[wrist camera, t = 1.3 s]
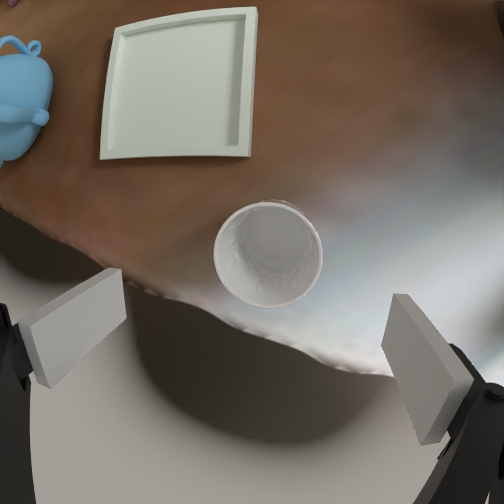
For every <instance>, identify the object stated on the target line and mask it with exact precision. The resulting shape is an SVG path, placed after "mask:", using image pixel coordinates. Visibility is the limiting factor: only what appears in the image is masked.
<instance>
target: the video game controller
mask: <svg viewBox="0 0 504 504" xmlns="http://www.w3.org/2000/svg"><path fill="white" fill-rule="evenodd" d="M18 1H19V0H8V5H9V6H10V7H13V6H15V5H16V4H17V2H18Z"/></svg>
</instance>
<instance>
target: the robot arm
mask: <svg viewBox="0 0 504 504" xmlns="http://www.w3.org/2000/svg"><path fill="white" fill-rule="evenodd" d="M498 17H499V22H500V26H501V29H502V32H503V34H504V2H502V3H501V4H500V6H499V9H498ZM125 319H126V310H125V302H124V294H123V283H122V272H121V269H117V268H107V269H106V270H104V271H102V272H100V273H99V274H97V275H95V276H93V277H92V278H90V279H88V280H86V281H84V282H83V283H81V284H79V285H77V286H76V287H74V288H72V289H70V290H69V291H67V292H65V293H64V294H62V295H60V296H59V297H57V298H56V299H54V300H52V301H50V302H49V303H47V304H45V305H44V306H42V307H41V308H39V309H37V310H35V311H34V312H32V313H31V314H29V315H28V316H26V317H24V318H22V319H21V320H19V321H18V323H17V324H15V325H14V326H12V324H11V321H10V317H9V313H8V309H7V306H6V305H5V304H2V303H0V504H36V499H35V493H34V485H33V476H32V466H31V453H30V390H31V381H30V378H29V374H30V373H31V372H32V371H34V374H35V377H36V379H37V382H38V383H39V384H41V385H43V386H45V387H47V388H49V389H51V388H52V387H53V386H54V385H55V384H56V383H57V382H58V381H59V380H60V379H61V378H62V377H64V376H65V375H66V374H67V373H68V372H69V371H70V370H71V369H72V368H73V367H74V366H75V365H76V364H77V363H78V362H79V361H80V360H81V359H83V358H84V357H85V356H86V355H87V354H88V353H89V352H90V351H91V350H92V349H93V348H94V347H95V346H97V345H98V344H99V343H100V342H101V341H102V340H103V339H104V338H105V337H106V336H107V335H108V334H110V333H111V332H112V331H113V330H114V329H115V328H116V327H117V326H118V325H119V324H120V323H122V322H123V321H124V320H125ZM381 346H382V348H383V351H384V353H385V355H386V358H387V360H388V362H389V365H390V367H391V369H392V372H393V374H394V377H395V379H396V382H397V384H398V386H399V389H400V391H401V394H402V397H403V399H404V402H405V404H406V407H407V409H408V412H409V415H410V417H411V420H412V423H413V426H414V428H415V431H416V434H417V436H418V439H419V442H420V445H427V444H433V443H439V442H440V441H441V439H442V438H443V436H444V434H445V433H446V431H448V433H449V435H450V440H449V441H448V443H447V445H446V446H445V448H444V449H443V451H442V452H441V453H440V455H439V456H438V458H437V459H439V460H438V462H437V464H436V466H435V468H434V470H433V471H432V473H431V475H430V477H429V479H428V480H427V482H426V484H425V485H424V487H423V489H422V490H421V492H420V493H419V495H418V497H417V498H416V500H415V502H414V503H413V504H485V502H486V499H487V496H488V493H489V491H490V493H489V502H488V504H504V387H503V386H501V385H499V384H496V383H486V382H485V381H484V379H483V378H482V376H481V375H480V374H479V372H478V371H477V370H476V368H475V367H474V366H473V365H471V364H472V363H471V362H470V361H469V359H467V357H466V355H465V354H464V353H463V352H462V350H461V349H459V348H458V347H456V346H455V345H453V344H448V343H447V342H446V340H445V339H444V338H443V337H442V335H441V334H440V333H439V331H438V330H437V329H436V328H435V326H434V325H433V324H432V323H431V321H430V320H429V319H428V318H427V317H426V315H425V314H424V313H423V312H422V310H421V309H420V308H419V307H418V306H417V304H416V303H415V302H414V301H413V300H412V298H411V297H410V296H409V295H408V294H393V298H392V303H391V307H390V312H389V316H388V320H387V324H386V328H385V332H384V336H383V340H382V344H381Z"/></svg>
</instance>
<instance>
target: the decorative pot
mask: <svg viewBox="0 0 504 504" xmlns="http://www.w3.org/2000/svg"><path fill="white" fill-rule="evenodd" d="M5 43H11V44H12V45H14V46H15V47H16V48H17V49H18V50H19V51H20V52H21V54H11V55H5V56H0V168H1V166H2V164H3V160H15V159H17V158H19V157H20V156H21V155H23V154H24V153H25V152H26V151H27V150H28V149H29V148H30V147H31V145H32V144H33V142H34V141H35V139H36V137H37V135H38V133H39V131H40V129H41V127H42V126H44V125H45V124H46V123H47V122H48V120H49V113H48V112H47V111H48V107H49V103H50V99H51V94H52V90H53V75H52V72H51V69H50V67H49V65H48V64H47V62H46V61H44V60H43V59H41V58H39V57H37V56H38V55H39V54H40V51H41V43H40V42H39V41H36V40H34V41H31V42H30V43H29V44H28V45H27V47H26V46H25V45H24V44H23V43H22V42H21V41H20V40H19V39H18V38H16V37H14V36H5V37H3V38H1V39H0V48H1V47H2V46H3V45H4V44H5ZM33 46H34V49H33V51H32V52H31V51H30V50H31V48H32V47H33Z"/></svg>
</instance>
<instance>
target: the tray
mask: <svg viewBox="0 0 504 504" xmlns="http://www.w3.org/2000/svg"><path fill="white" fill-rule="evenodd" d="M257 27H258V12H257V8H256V7H239V8H224V9H213V10H204V11H195V12H188V13H182V14H175V15H170V16H164V17H159V18H154V19H149V20H145V21H141V22H136V23H132V24H128V25H125V26H121V27H117V28H115V32H114V37H113V42H112V48H111V53H110V59H109V66H108V72H107V79H106V87H105V95H104V105H103V115H102V128H101V145H100V159H105V160H109V159H124V158H144V157H175V156H224V157H251V141H252V121H253V101H254V82H255V63H256V45H257Z"/></svg>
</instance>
